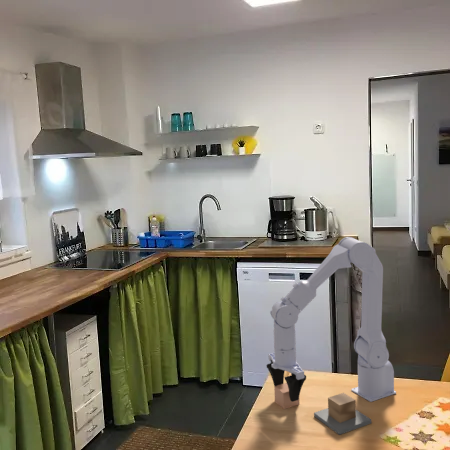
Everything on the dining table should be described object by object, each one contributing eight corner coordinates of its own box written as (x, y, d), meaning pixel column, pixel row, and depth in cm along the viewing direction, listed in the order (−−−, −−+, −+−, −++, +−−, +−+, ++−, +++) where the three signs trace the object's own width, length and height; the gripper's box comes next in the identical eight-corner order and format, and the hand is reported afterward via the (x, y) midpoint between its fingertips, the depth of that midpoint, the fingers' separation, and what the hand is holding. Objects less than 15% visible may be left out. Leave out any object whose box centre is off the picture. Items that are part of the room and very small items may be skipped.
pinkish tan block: (290, 397, 138) (289, 381, 138) (299, 404, 134) (299, 388, 134) (274, 402, 136) (274, 386, 136) (283, 409, 132) (283, 393, 132)
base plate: (344, 406, 132) (344, 402, 132) (371, 423, 123) (371, 419, 123) (314, 416, 128) (314, 412, 128) (339, 434, 119) (339, 431, 119)
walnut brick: (343, 409, 128) (343, 392, 128) (355, 417, 124) (355, 399, 124) (328, 414, 126) (327, 397, 126) (340, 422, 122) (339, 405, 122)
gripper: (258, 341, 138) (260, 387, 140) (287, 359, 125) (289, 409, 127) (280, 336, 141) (281, 381, 143) (310, 353, 128) (311, 402, 130)
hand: (286, 394), depth 135 cm, fingers open, 7 cm apart
